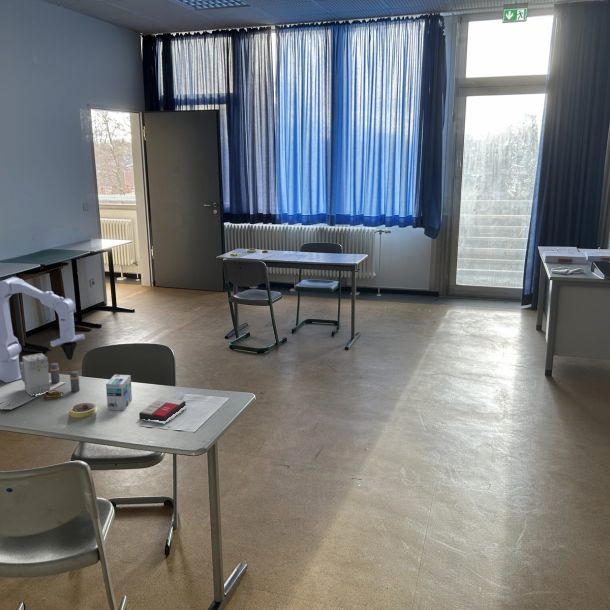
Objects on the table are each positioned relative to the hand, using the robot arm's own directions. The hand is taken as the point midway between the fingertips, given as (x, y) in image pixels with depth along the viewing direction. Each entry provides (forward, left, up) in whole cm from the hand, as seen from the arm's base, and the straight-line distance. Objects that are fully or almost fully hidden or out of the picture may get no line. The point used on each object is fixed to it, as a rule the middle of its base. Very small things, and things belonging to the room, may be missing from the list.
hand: (69, 359), depth 255 cm
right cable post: (+10, -4, -11) cm, 15 cm away
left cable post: (-5, -4, -11) cm, 12 cm away
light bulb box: (+36, -1, -11) cm, 37 cm away
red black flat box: (+55, +4, -11) cm, 56 cm away
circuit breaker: (-3, -14, -11) cm, 18 cm away
